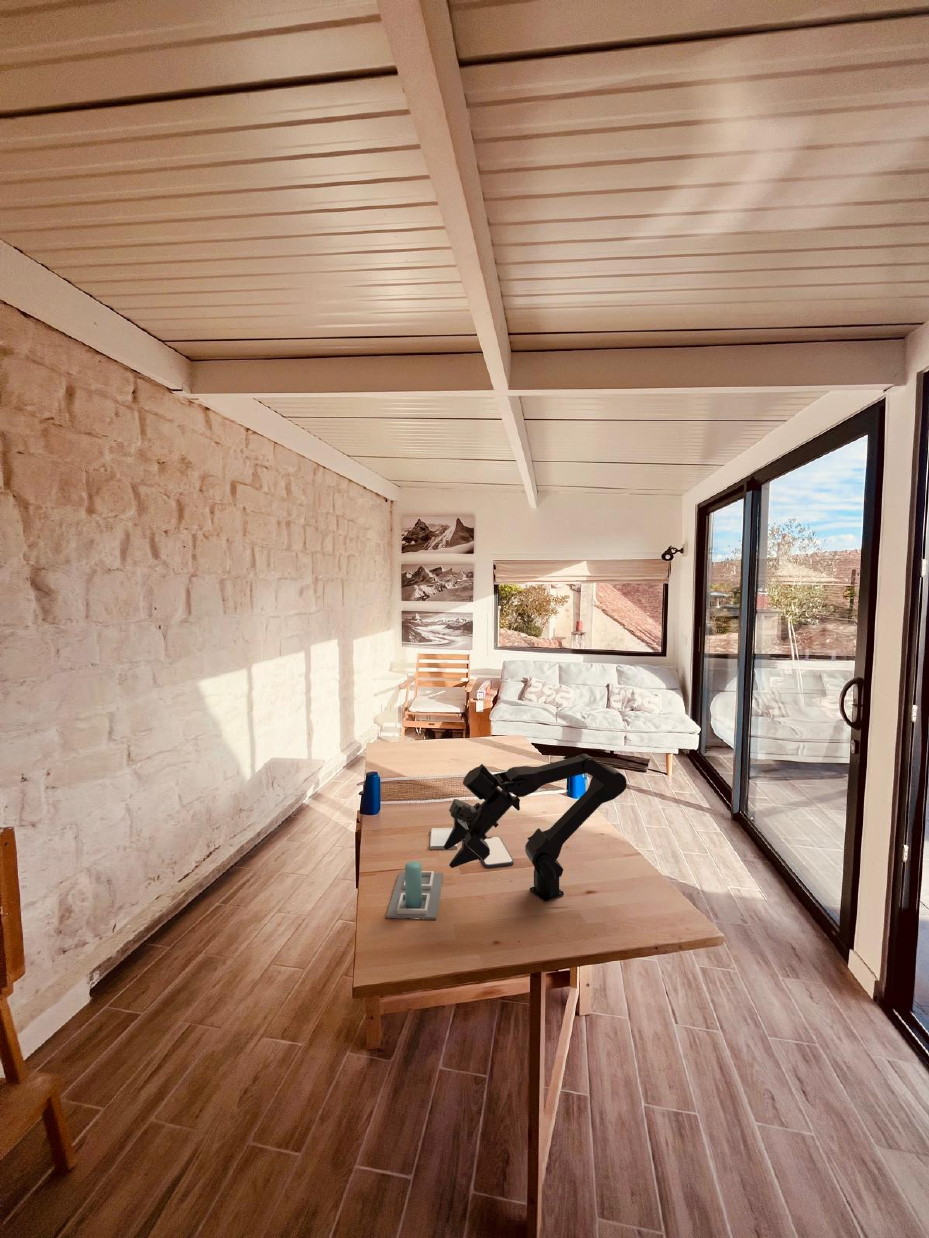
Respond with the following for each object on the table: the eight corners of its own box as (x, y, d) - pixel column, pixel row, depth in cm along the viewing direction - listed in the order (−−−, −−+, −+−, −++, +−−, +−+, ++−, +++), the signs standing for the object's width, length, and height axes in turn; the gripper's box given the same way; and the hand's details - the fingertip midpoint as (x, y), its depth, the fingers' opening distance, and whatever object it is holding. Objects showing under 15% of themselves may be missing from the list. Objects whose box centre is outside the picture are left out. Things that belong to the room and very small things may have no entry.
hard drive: (457, 845, 167) (456, 827, 179) (429, 846, 167) (430, 827, 179) (457, 851, 167) (456, 832, 180) (429, 851, 167) (431, 832, 179)
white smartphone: (515, 867, 158) (499, 840, 173) (515, 861, 157) (499, 835, 173) (484, 871, 156) (472, 843, 171) (484, 865, 156) (472, 838, 171)
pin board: (399, 874, 153) (399, 868, 153) (443, 875, 152) (443, 869, 152) (386, 918, 133) (386, 911, 133) (436, 919, 132) (436, 913, 132)
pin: (425, 904, 137) (424, 865, 137) (413, 911, 134) (413, 871, 134) (413, 898, 140) (413, 859, 139) (402, 905, 137) (401, 866, 136)
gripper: (462, 776, 147) (420, 820, 146) (476, 804, 129) (428, 855, 127) (491, 803, 149) (450, 847, 148) (509, 834, 130) (462, 885, 129)
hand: (447, 857), depth 138 cm, fingers open, 9 cm apart
